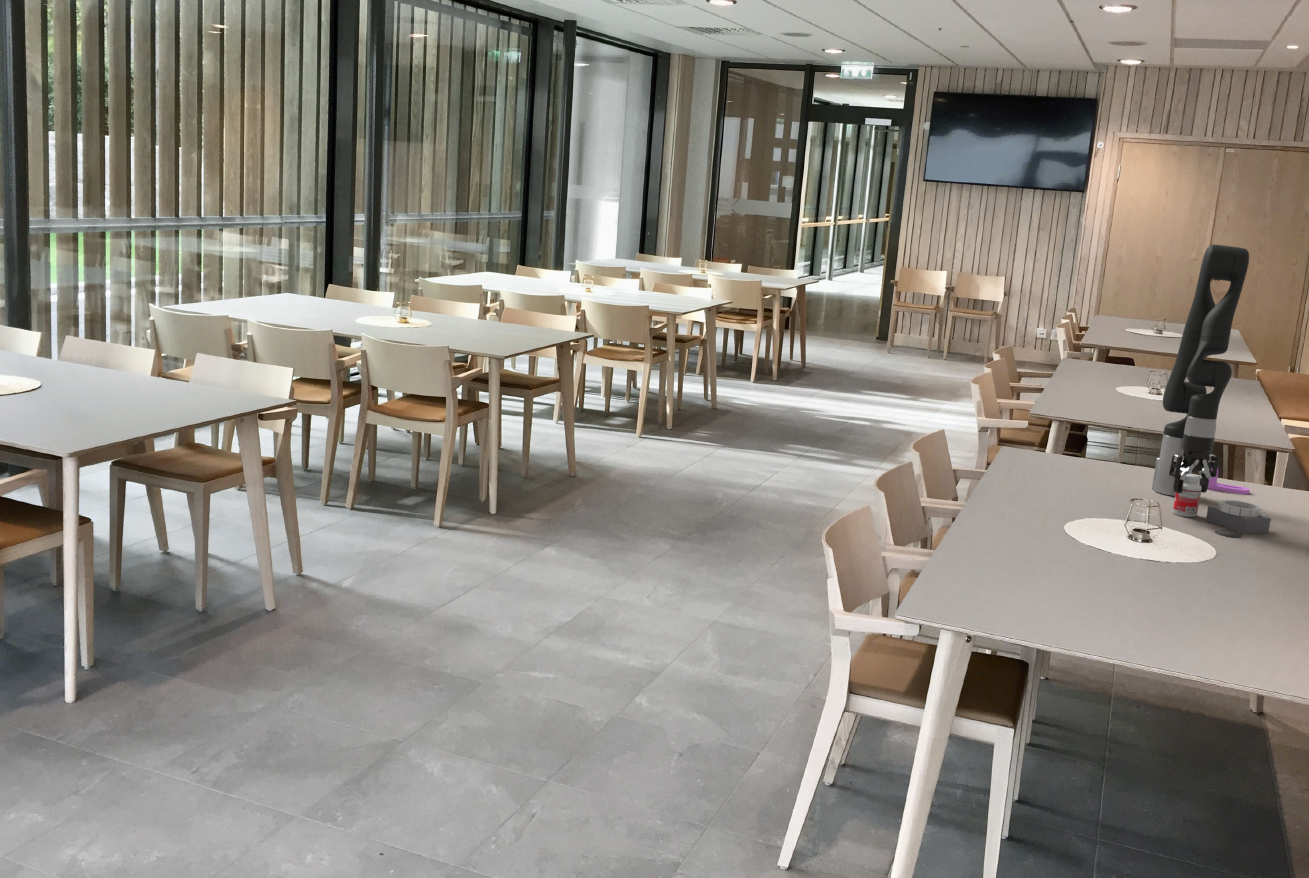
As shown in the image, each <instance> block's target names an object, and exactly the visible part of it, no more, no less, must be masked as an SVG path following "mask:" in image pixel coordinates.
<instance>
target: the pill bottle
mask: <svg viewBox="0 0 1309 878" xmlns="http://www.w3.org/2000/svg"><path fill="white" fill-rule="evenodd" d="M1200 478H1201V476H1200V475H1198V474H1194V473H1192V474H1187V475H1186V476H1185V478H1184V479H1183V480H1184V483H1183V489H1182V493H1177V492H1176V494H1175V496H1174V500H1173V501H1174V502H1173V506H1172V513H1173V514H1174V515H1176V516H1180V517H1184V518H1195V517H1197V516H1198V511H1199V505H1200V499H1201V495H1202V492H1201V489H1202V488H1201V486H1200V485H1199V482H1200Z"/></svg>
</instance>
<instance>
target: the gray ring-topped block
mask: <svg viewBox="0 0 1309 878" xmlns="http://www.w3.org/2000/svg"><path fill="white" fill-rule="evenodd" d="M1267 515H1268V514H1267V513H1262V507H1261V506H1259V505H1258V504H1256V503H1251V502H1248V501H1242V500H1234V499H1221V500H1220V501H1219V505H1217V504H1216V505H1207V511H1206V517H1205V521H1208V522H1210V523H1212V524H1216V525H1217V526H1218V525H1219V526H1222V527H1224V528H1227V529H1228V530H1232V531H1236V532H1239V533H1241V534H1242V535H1248V534H1249V535H1253V534H1254V535H1255V534H1257V535H1258V534H1269V531H1270V525H1271V521H1272V518H1271V517H1268V516H1267Z"/></svg>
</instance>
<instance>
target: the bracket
mask: <svg viewBox="0 0 1309 878" xmlns="http://www.w3.org/2000/svg"><path fill="white" fill-rule="evenodd" d="M1211 472H1212V468H1211ZM1218 476H1219V467H1217V475H1216V477H1212V478H1211V479H1209V484H1208V489H1207V490H1212V491H1218V492H1226V493H1233V494H1238V495H1249V494H1250V491H1251V489H1250V488H1249V487H1248V488H1247V487H1245V486H1242V485H1241V486H1239V485H1234V484H1227V483H1226V484H1225V483H1221V482H1218V478H1219V477H1218Z"/></svg>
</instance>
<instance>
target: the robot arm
mask: <svg viewBox="0 0 1309 878" xmlns="http://www.w3.org/2000/svg"><path fill="white" fill-rule="evenodd" d="M1247 249H1248V248H1247ZM1247 249H1246V248H1244V247H1237V246H1229V245H1222V244H1210V245H1208V247H1207V248H1206V249H1205V252H1204V254H1203V258H1202V261H1201V265H1200V270H1199V273H1198V277H1197V278H1198V279H1197V283H1196V287H1195V288H1196V289H1195V292H1194V297H1193V299H1192V302H1191V306H1190V310H1189V312H1188V315H1187V319H1186V321H1185V325H1184V327H1183V332H1182V335H1181V340H1180V343H1179V346H1178V352H1177V356H1176V358H1175V362H1174V365H1173V368H1172V370H1171V372H1170V375H1169V378H1168V380H1167V384H1166V386H1165V389H1164V391H1163V395H1162V406H1163V409H1164V410H1165V411H1166V412H1170V413H1178V414H1186V416H1185V417H1183V418H1182V419H1180V420H1178V421H1173V422H1169V423H1167V424H1165V425H1164V429H1163V435H1162V441H1161V447H1160V453H1159V457H1157V458H1156V460H1155V467H1154V474H1153V478H1152V479H1153V480H1152V485H1151V490H1154V491H1155V492H1156V493H1159V494H1163V495H1166V496H1173V497H1175V494H1176V492H1177V493H1182V489H1183V483H1184V480H1183V479H1184V478H1185V476H1186V475H1187V474H1193V472H1195V471H1197V472H1198V474H1199V476H1200V482H1199V483H1198V484H1199V485H1200V486H1201V488H1202V489H1201V493H1203V494H1204V493H1207V491H1208V490H1209V489H1208V484H1209V479H1211V478H1212V477H1216V475H1217V468H1219V467H1218V464H1219V455H1215V454H1212V452H1213V450H1214V443H1215V437H1216V431H1217V417H1218V413H1219V406H1220V402H1221V399H1222V396H1223V394H1224V393H1225V389H1226V388H1227V386H1228V384H1229V383H1230V380H1231V377H1232V373H1233V370H1232V366H1231V364H1229V362H1226V361H1221V360H1219V361H1218V360H1211V359H1206V358H1207V357H1210V356H1218V355H1223V354H1225V353H1227V351H1228V349H1229V344H1230V339H1231V332H1232V325H1233V323H1234V322H1233V321H1234V317H1235V313H1236V310H1237V307H1238V304H1239V302H1240V301H1239V300H1240V298H1241V293H1242V291H1243V288H1244V283H1245V280H1246V277H1247V272H1248V269H1249V264H1250V253H1249V251H1248V250H1247ZM1212 280H1218V281H1226V282H1229V284H1230V285H1229V288H1228V290H1227V291H1226V293H1225V295H1223V296H1222V298H1221V299H1220V301H1218V302H1217V304H1216V303H1215V301H1214V297H1213V294H1212V288H1211V282H1212ZM1186 379H1187V381H1186ZM1206 387H1209V388H1213V390H1212V391H1211V392H1207V388H1206ZM1211 468H1212V471H1211Z"/></svg>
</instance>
